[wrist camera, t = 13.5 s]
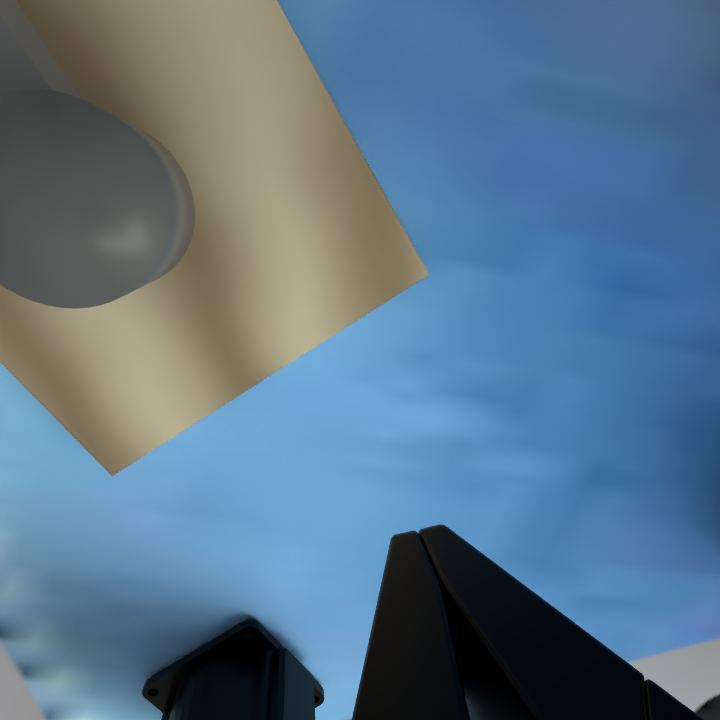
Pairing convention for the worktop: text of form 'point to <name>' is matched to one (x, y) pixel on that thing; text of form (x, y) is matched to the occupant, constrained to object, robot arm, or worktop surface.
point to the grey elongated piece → (78, 186)
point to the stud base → (209, 222)
